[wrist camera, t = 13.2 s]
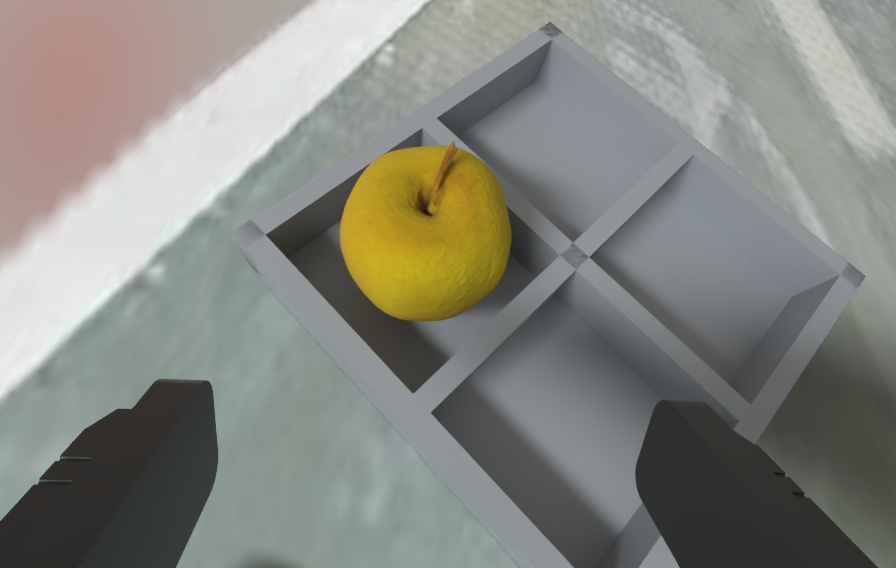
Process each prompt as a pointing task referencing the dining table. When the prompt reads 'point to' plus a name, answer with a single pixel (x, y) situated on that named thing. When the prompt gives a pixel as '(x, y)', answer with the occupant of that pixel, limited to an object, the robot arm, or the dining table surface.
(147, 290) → the dining table surface
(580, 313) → the tray
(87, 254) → the dining table surface
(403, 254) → the apple
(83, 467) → the robot arm
